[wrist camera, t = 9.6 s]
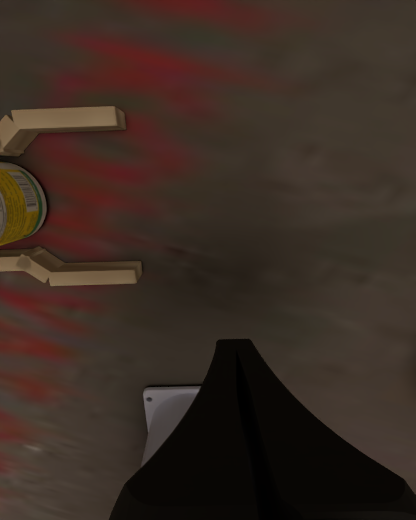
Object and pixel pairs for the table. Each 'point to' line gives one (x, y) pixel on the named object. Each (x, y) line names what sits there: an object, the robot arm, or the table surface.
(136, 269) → the keyhole rails
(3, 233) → the supplement bottle
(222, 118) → the table surface
